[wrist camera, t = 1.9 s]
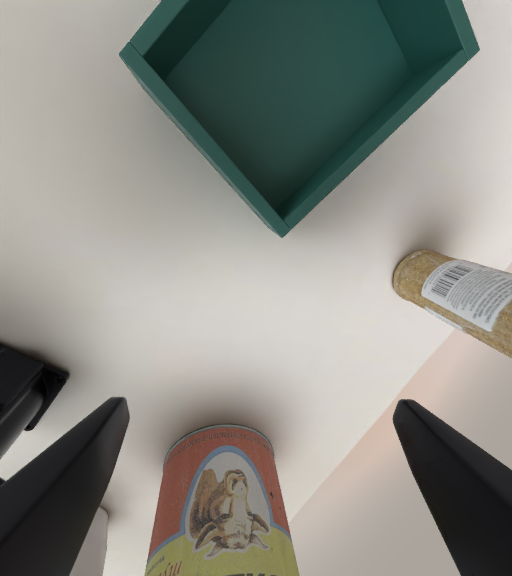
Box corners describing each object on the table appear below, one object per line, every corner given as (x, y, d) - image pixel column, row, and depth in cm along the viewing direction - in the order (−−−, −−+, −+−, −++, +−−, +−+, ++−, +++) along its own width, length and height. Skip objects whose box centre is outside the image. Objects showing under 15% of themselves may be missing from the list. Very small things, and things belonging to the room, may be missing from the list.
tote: (268, 228, 19) (282, 238, 15) (143, 88, 15) (117, 54, 11) (420, 81, 17) (480, 49, 13) (322, -126, 13) (367, -259, 9)
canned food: (281, 422, 26) (331, 598, 15) (266, 495, 30) (296, 679, 19) (163, 426, 24) (117, 634, 13) (163, 504, 28) (129, 717, 16)
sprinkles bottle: (401, 308, 23) (622, 449, 10) (382, 268, 21) (621, 382, 9) (447, 278, 22) (733, 390, 10) (431, 236, 21) (753, 307, 8)
